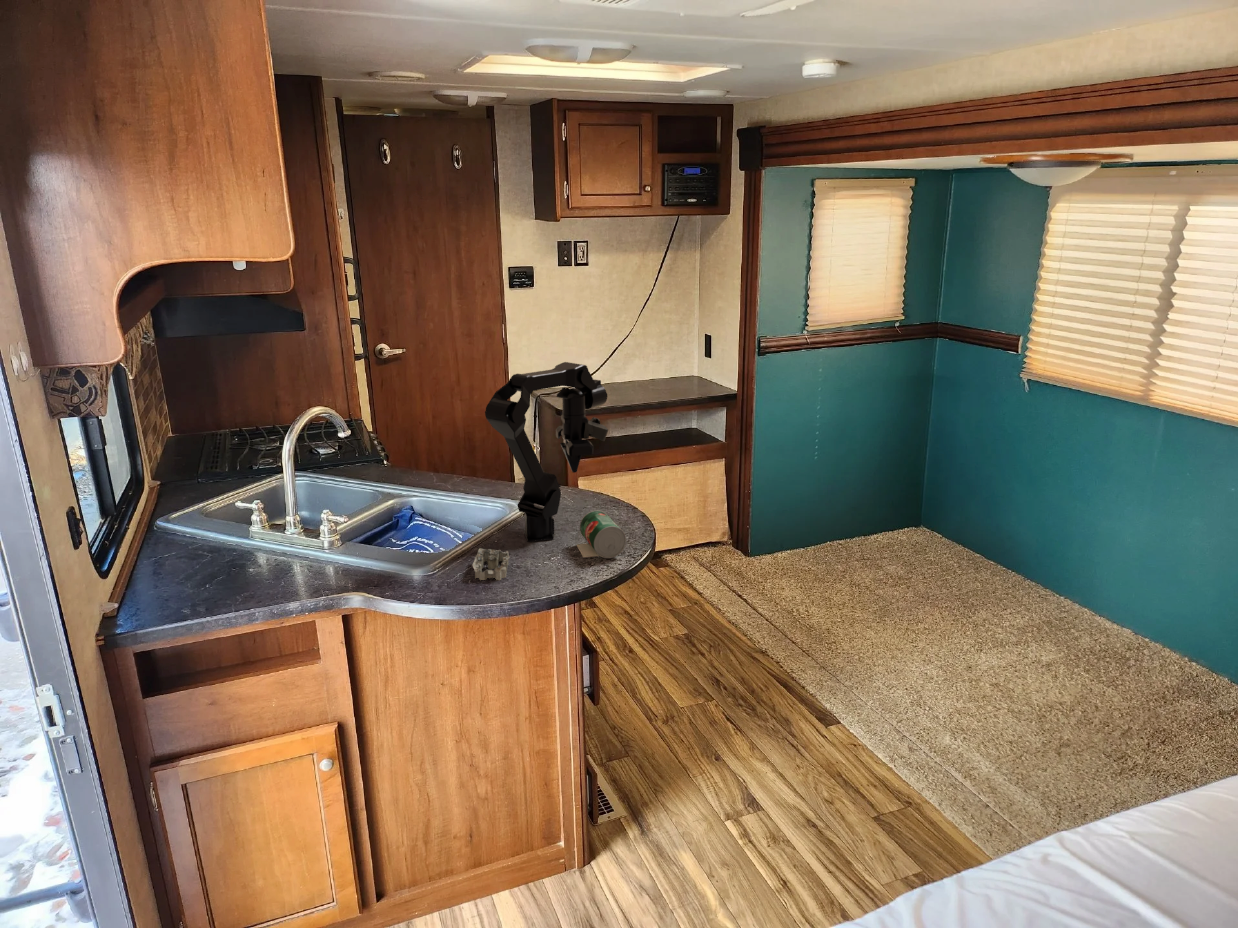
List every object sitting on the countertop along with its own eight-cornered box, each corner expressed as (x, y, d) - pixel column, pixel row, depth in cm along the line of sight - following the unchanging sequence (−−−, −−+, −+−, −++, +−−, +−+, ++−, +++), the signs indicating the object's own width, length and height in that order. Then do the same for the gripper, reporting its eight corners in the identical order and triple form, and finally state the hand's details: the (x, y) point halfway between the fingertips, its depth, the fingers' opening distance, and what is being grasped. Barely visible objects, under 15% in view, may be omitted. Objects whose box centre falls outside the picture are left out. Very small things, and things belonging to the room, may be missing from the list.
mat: (583, 557, 194) (583, 555, 194) (577, 545, 200) (577, 544, 200) (616, 554, 196) (616, 552, 196) (609, 542, 202) (609, 541, 202)
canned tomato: (575, 517, 199) (590, 533, 189) (605, 505, 201) (621, 521, 191) (584, 545, 202) (599, 563, 192) (613, 533, 204) (629, 550, 194)
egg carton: (505, 582, 182) (505, 565, 181) (471, 582, 182) (470, 565, 181) (511, 561, 192) (511, 545, 191) (479, 561, 192) (478, 545, 191)
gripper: (614, 420, 201) (613, 481, 206) (596, 402, 219) (596, 459, 223) (569, 423, 199) (569, 484, 203) (554, 404, 216) (555, 462, 221)
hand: (574, 472), depth 213 cm, fingers closed
